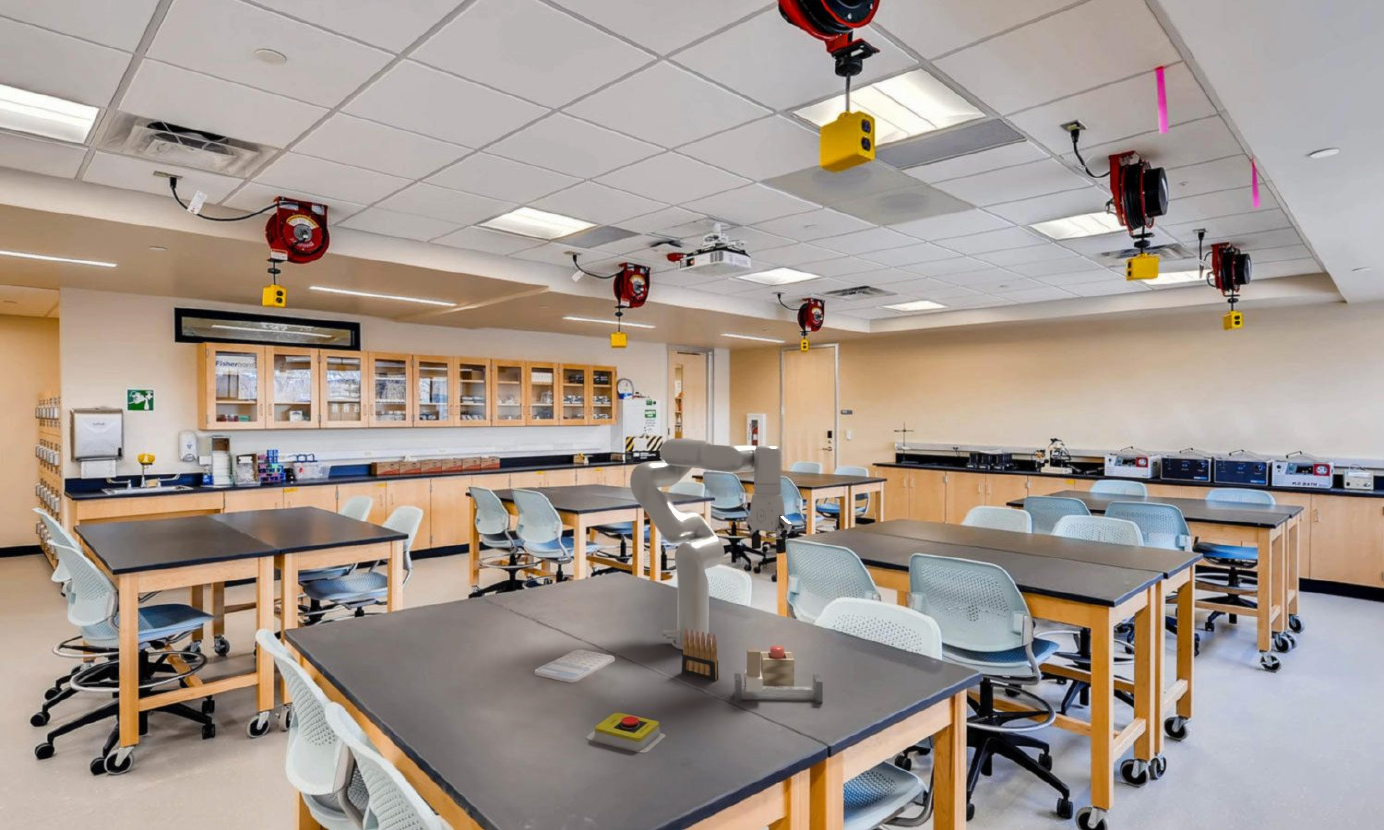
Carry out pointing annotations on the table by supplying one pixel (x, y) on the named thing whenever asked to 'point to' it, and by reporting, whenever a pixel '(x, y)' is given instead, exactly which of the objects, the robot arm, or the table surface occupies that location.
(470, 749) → the table surface
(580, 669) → the calculator
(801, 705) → the table surface
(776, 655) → the button
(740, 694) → the rail
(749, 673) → the carriage
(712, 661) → the ammunition clip
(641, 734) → the emergency button
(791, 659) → the wooden box
